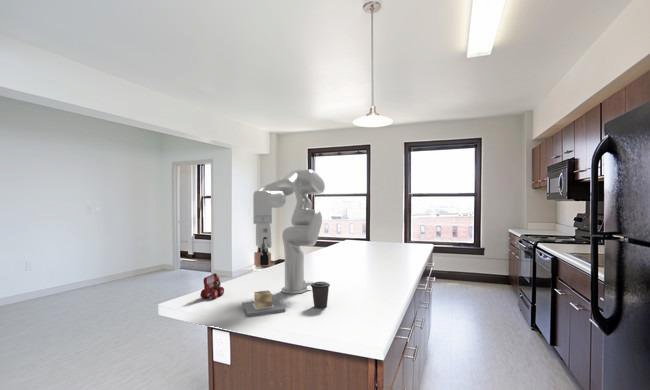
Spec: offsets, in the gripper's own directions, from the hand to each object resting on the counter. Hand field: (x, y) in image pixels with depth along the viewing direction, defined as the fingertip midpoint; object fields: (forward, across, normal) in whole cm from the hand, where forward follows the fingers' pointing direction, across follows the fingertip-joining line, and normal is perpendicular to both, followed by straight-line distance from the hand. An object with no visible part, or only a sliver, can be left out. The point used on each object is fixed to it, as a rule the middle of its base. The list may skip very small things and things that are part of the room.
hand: (262, 263), depth 131 cm
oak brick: (+17, 0, 0) cm, 17 cm away
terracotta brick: (+1, 0, 0) cm, 1 cm away
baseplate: (+18, 0, 0) cm, 18 cm away
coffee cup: (+19, -7, -23) cm, 30 cm away
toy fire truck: (+19, +27, +18) cm, 37 cm away
